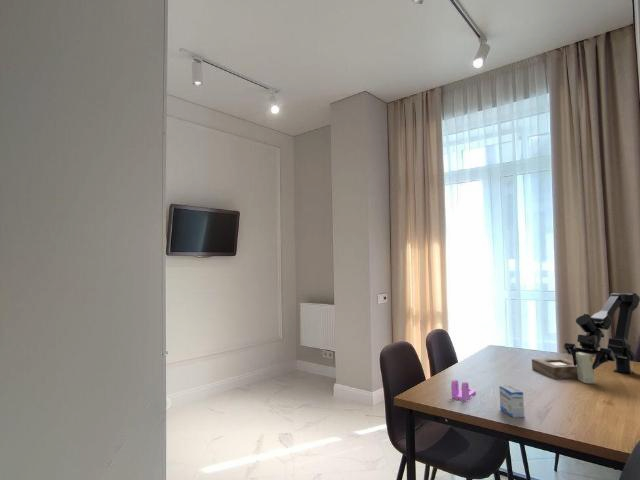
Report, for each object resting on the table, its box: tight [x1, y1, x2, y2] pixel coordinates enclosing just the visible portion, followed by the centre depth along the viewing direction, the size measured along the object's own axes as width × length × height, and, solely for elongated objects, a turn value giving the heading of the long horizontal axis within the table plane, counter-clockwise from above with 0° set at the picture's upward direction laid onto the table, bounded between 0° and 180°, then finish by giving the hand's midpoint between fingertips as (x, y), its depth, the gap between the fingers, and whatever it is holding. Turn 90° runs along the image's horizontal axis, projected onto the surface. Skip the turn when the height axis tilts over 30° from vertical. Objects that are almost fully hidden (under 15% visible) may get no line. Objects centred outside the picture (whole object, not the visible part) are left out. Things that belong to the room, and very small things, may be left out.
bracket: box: [450, 379, 477, 402], centre depth 152 cm, size 13×6×7 cm, turn 137°
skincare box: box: [576, 352, 596, 384], centre depth 166 cm, size 6×4×12 cm
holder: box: [531, 357, 578, 380], centre depth 179 cm, size 16×16×5 cm
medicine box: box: [498, 385, 525, 419], centre depth 133 cm, size 8×4×9 cm, turn 5°
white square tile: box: [550, 362, 567, 365], centre depth 179 cm, size 8×8×1 cm
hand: (583, 367), depth 165 cm, fingers closed on skincare box, 7 cm apart
